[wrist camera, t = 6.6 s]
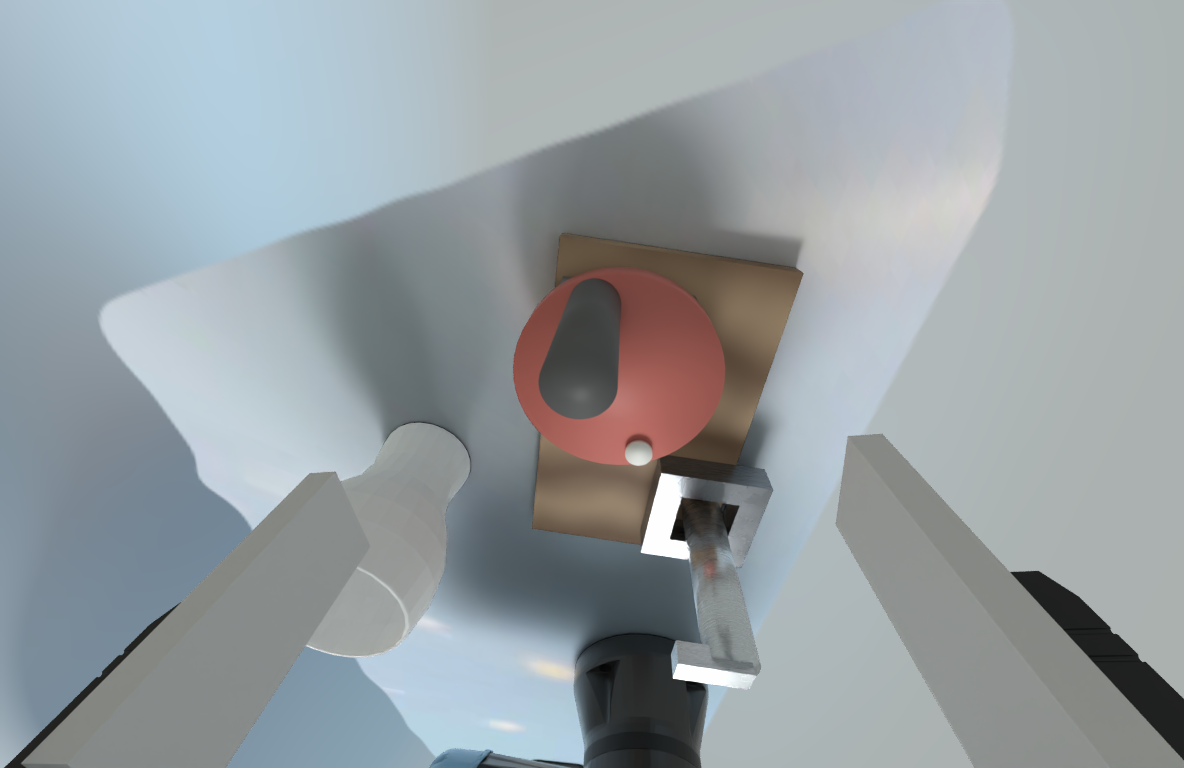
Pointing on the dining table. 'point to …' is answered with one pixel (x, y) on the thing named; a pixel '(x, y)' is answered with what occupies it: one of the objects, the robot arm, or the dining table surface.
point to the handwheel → (619, 366)
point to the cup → (396, 541)
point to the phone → (572, 767)
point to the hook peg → (714, 605)
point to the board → (749, 342)
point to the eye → (706, 482)
